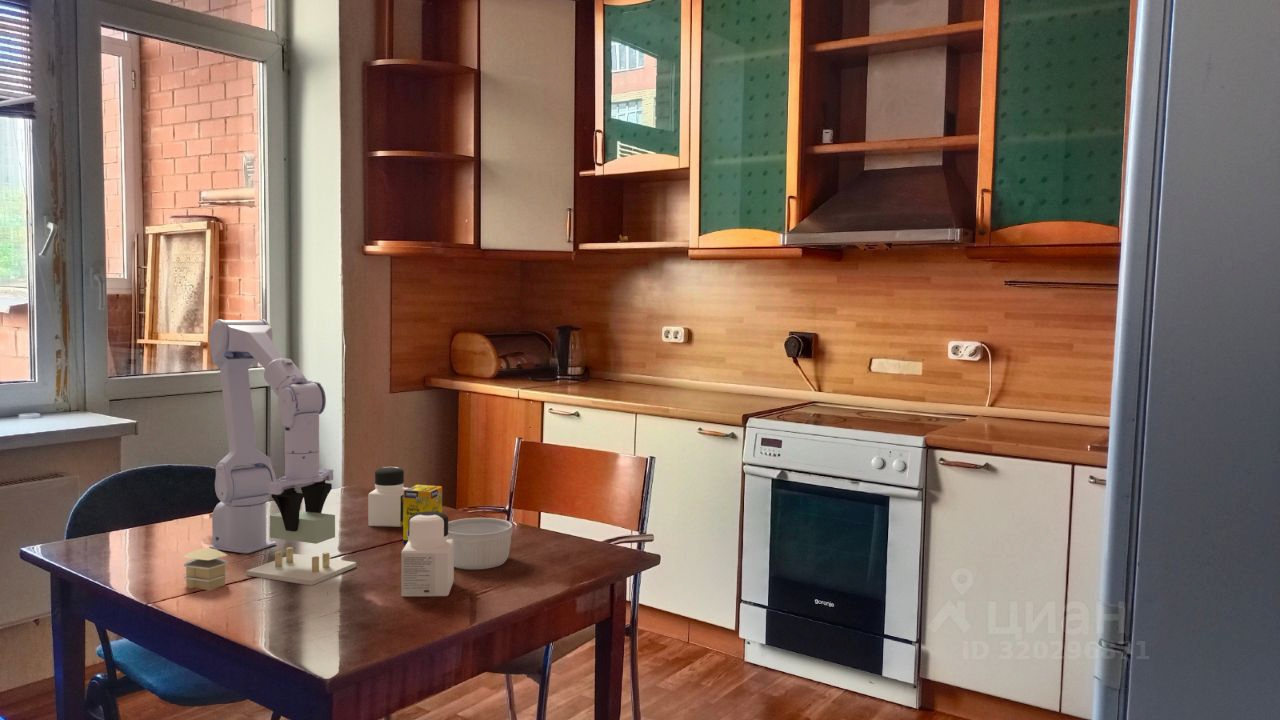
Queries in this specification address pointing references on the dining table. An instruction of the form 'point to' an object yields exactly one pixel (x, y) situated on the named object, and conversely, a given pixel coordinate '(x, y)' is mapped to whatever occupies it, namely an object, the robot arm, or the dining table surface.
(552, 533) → the dining table surface
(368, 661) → the dining table surface
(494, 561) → the ramekin
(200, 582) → the beige tiered box
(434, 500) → the supplement box
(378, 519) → the medicine bottle
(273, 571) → the cream peg board
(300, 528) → the rectangular block
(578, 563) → the dining table surface
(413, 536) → the container
